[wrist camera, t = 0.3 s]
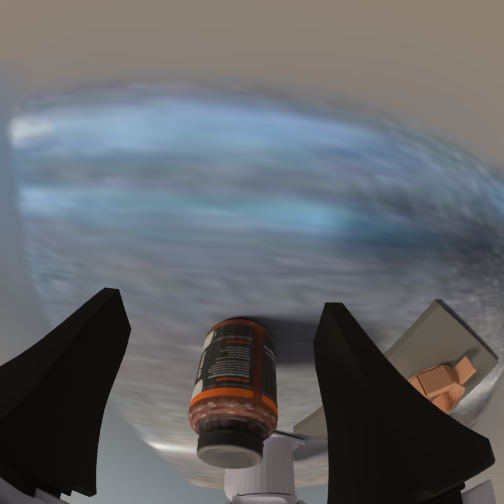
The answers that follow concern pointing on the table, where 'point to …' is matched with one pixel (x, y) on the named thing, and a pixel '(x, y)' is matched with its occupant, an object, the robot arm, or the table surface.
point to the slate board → (424, 356)
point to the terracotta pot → (444, 383)
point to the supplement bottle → (235, 395)
